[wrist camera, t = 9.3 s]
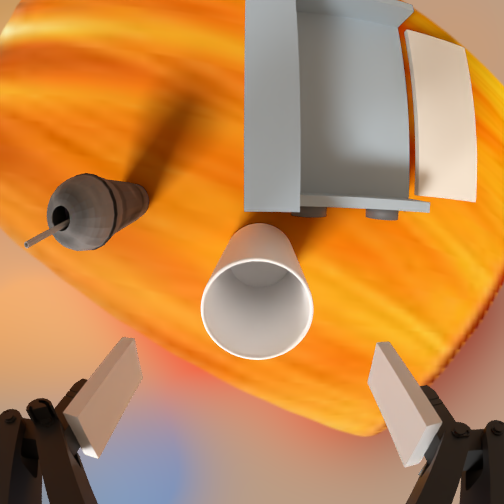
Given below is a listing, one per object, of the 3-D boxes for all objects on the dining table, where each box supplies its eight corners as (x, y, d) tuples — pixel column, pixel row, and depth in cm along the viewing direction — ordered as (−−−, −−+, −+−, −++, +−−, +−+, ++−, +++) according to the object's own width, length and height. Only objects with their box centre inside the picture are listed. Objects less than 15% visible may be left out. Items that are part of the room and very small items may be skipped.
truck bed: (251, 10, 29) (246, -55, 15) (384, 24, 28) (427, -25, 15) (251, 212, 36) (244, 233, 22) (393, 216, 35) (455, 238, 21)
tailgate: (406, 29, 24) (464, 47, 24) (403, 32, 25) (460, 50, 25) (418, 195, 29) (475, 202, 29) (413, 194, 30) (470, 201, 30)
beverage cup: (160, 173, 35) (61, 174, 15) (158, 231, 36) (65, 285, 17) (110, 172, 35) (-4, 178, 15) (108, 227, 37) (1, 271, 17)
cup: (224, 223, 36) (196, 257, 20) (293, 222, 36) (316, 257, 20) (227, 288, 38) (204, 358, 22) (292, 287, 38) (309, 359, 22)
